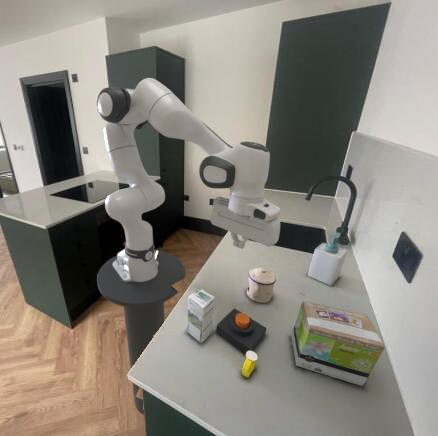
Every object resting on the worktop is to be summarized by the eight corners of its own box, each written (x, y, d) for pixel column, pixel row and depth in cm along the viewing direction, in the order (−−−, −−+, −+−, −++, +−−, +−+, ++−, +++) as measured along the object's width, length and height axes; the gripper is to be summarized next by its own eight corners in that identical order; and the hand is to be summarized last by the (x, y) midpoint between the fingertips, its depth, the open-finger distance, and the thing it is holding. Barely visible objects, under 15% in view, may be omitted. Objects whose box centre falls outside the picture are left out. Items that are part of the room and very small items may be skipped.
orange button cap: (232, 322, 69) (233, 317, 68) (239, 315, 72) (240, 310, 71) (244, 331, 66) (245, 325, 66) (251, 323, 69) (252, 318, 68)
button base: (215, 332, 72) (216, 320, 70) (233, 315, 78) (234, 303, 76) (248, 357, 64) (250, 344, 62) (265, 335, 70) (267, 323, 68)
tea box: (295, 368, 61) (308, 327, 55) (290, 336, 70) (301, 299, 64) (364, 388, 56) (386, 346, 50) (350, 352, 65) (367, 312, 59)
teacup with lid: (250, 283, 92) (254, 259, 88) (274, 293, 87) (280, 267, 82) (239, 300, 84) (243, 274, 79) (265, 312, 78) (270, 285, 74)
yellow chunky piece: (248, 383, 58) (251, 368, 55) (238, 375, 59) (240, 360, 57) (258, 366, 61) (262, 351, 59) (248, 359, 63) (251, 344, 61)
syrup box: (212, 332, 72) (215, 296, 66) (201, 344, 68) (203, 307, 62) (198, 322, 75) (199, 286, 70) (186, 333, 72) (187, 296, 66)
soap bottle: (338, 277, 95) (353, 236, 87) (331, 286, 90) (345, 243, 82) (315, 267, 101) (327, 228, 94) (307, 275, 96) (318, 235, 89)
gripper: (208, 197, 69) (204, 237, 75) (276, 217, 55) (266, 265, 61) (220, 192, 73) (216, 231, 78) (287, 210, 59) (276, 256, 65)
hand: (238, 246), depth 69 cm, fingers closed
